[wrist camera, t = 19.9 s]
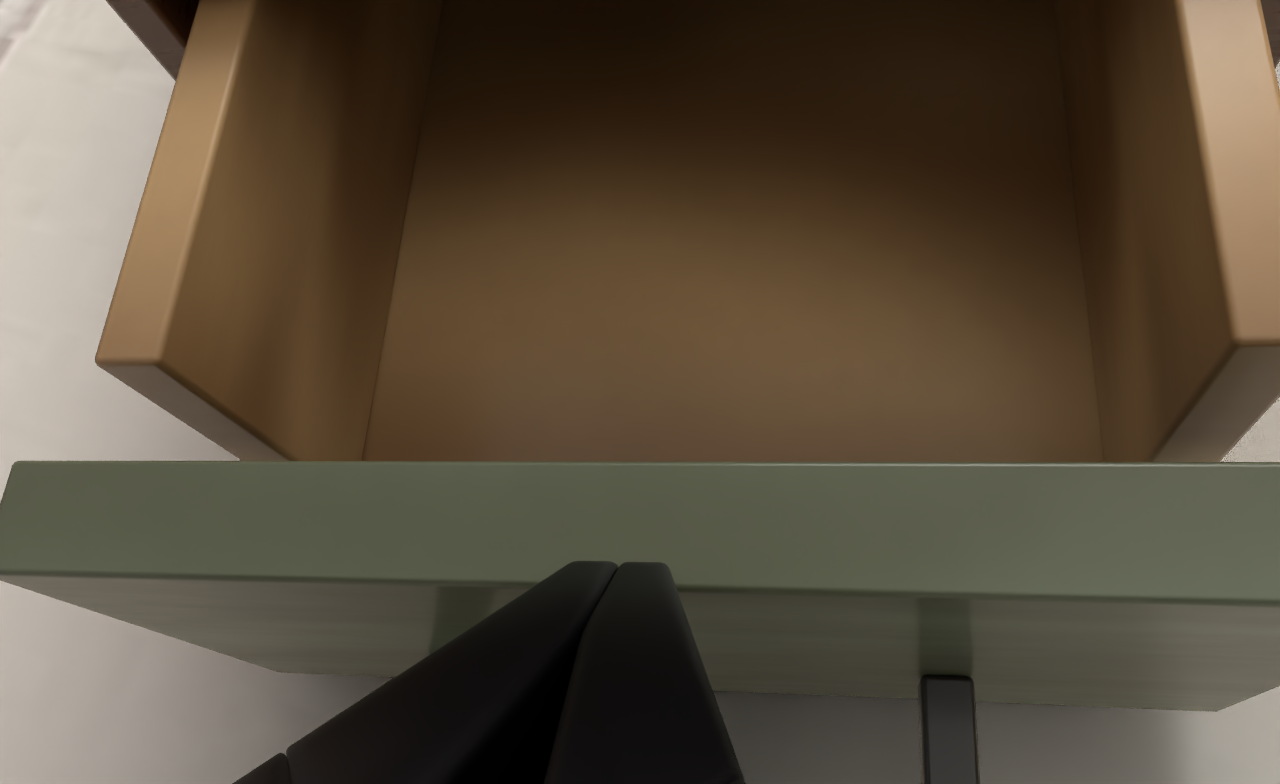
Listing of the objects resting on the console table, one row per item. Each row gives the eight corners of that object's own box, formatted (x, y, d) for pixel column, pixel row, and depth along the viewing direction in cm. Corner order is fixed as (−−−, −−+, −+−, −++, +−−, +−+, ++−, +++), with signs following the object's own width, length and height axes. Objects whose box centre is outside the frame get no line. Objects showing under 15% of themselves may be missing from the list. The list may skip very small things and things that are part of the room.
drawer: (1274, 1093, 12) (1638, 1295, 6) (216, 983, 14) (-177, 1060, 9) (1102, -116, 19) (1203, -513, 14) (417, -51, 22) (268, -363, 16)
